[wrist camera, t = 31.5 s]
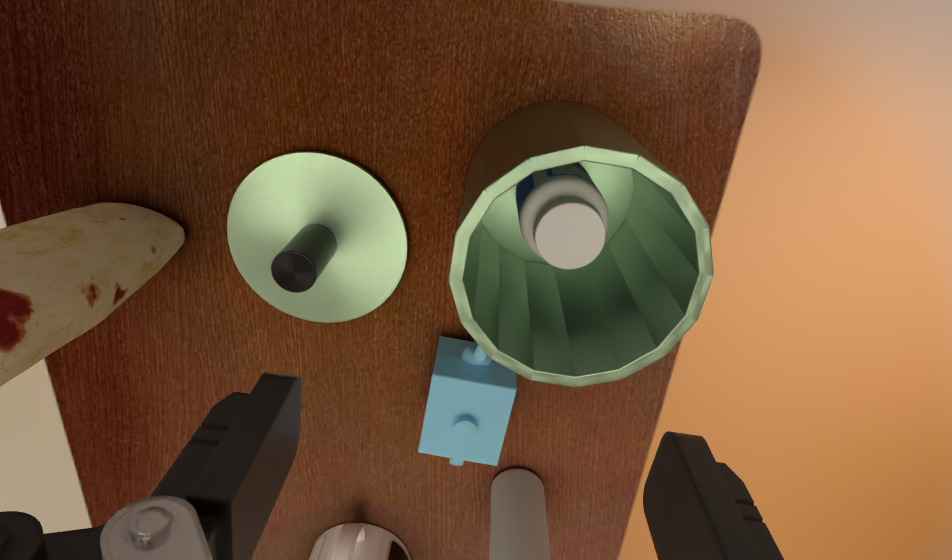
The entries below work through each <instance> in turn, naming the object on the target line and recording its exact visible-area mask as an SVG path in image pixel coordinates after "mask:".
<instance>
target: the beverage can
mask: <svg viewBox="0 0 952 560" xmlns="http://www.w3.org/2000/svg"><path fill="white" fill-rule="evenodd" d="M489 560H550V549H549V538H548V527H547V516H546V505H545V495H544V487H543V484H542V481H541V480H540V479H539V477H537V476H536V475H535V474H534V473H532V472H530V471H528V470H525V469H520V468H513V469H509V470H506V471H504V472H502V473H500V474H499V475H498V476H497V477H496V478H495V479H494V481H493V482H492V486H491V518H490V551H489Z"/></svg>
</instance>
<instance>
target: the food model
mask: <svg viewBox="0 0 952 560" xmlns="http://www.w3.org/2000/svg"><path fill="white" fill-rule="evenodd" d="M184 240H185V234H184V230H183V228H182V227H181V226H180V225H179V224H178V223H176V222H175V221H173V220H172V219H170V218H168V217H166V216H164V215H162V214H160V213H158V212H155V211H152V210H149V209H147V208H143V207H140V206H136V205H133V204H127V203H117V202H95V203H92V204H89V205H87V206H85V207H81V208H73V209H70V210H66V211H63V212H59V213H56V214H52V215H48V216H45V217H41V218H38V219H34V220H30V221H26V222H23V223H19V224H16V225H12V226H9V227H5V228H3V229H0V386H2V385H3V384H5V383H6V382H8V381H9V380H11V379H13V378H14V377H16V376H17V375H19V374H21V373H22V372H24V371H25V370H27V369H28V368H30V367H31V366H33V365H34V364H36V363H37V362H39V361H40V360H42V359H43V358H45V357H46V356H48V355H49V354H51V353H52V352H54V351H55V350H57V349H58V348H60V347H62V346H63V345H65V344H66V343H68V342H70V341H71V340H73V339H75V338H76V337H78V336H80V335H81V334H83V333H85V332H86V331H88V330H89V329H91V328H92V327H94V326H95V325H97V324H98V323H100V322H101V321H102V320H103V319H105V318H106V317H107V316H108V315H109V314H110V313H111V312H113V311H114V310H115V309H116V308H117V307H118V306H119V305H120V304H122V303H123V302H124V301H125V300H126V299H127V298H128V297H129V296H131V295H132V294H133V293H134V292H135V291H137V290H138V289H139V288H140V287H141V286H142V285H143V284H145V283H146V282H147V281H148V280H149V279H150V278H151V277H153V276H154V275H155V274H156V273H157V272H158V271H159V270H160V269H161V268H162V267H163V266H164V265H165V264H166V263H167V262H168V261H169V260H170V258H171V257H172V256H173V255H174V254H175V253H176V252H177V251H178V250H179V248H180V247H181V246H182V245H183V243H184Z"/></svg>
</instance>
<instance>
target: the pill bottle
mask: <svg viewBox="0 0 952 560" xmlns="http://www.w3.org/2000/svg"><path fill="white" fill-rule="evenodd" d="M516 203H517V211H518V218H519V225H520V230H521V234H522V236H523V239H524V241H525V243H526V244H527V246H528V247H529V248H530V249H531V250H532V251H533V252H534V253H535V254H536V255H538V256H539V257H541V258H543V259H544V260H545V261H546V262H548V263H549V264H551V265H553V266H555V267H557V268H561V269H576V268H580V267H583V266H585V265H587V264H589V263H590V262H591V261H593V260H594V259H595V258H596V257H597V256H598V255H599V253H600V252H601V250H602V248H603V246H604V243H605V239H606V232H607V228H608V223H609V213H608V208H607V205H606V202H605V200H604V198H603V196H602V194H601V193H600V191H599V190H598V188H597V187H596V185H595V183H594V182H593V180H592V179H591V177H590V176H589V174H588V172H587V171H586V170H585V168H584V167H583V166H582V165H581V164H580V163H579V162H577V163H572V164H568V165H563V166H559V167H554V168H550V169H545V170H541V171H536V172H534V173H532V174H531V175H529V176H528V177H526V178H525V179H523V180H522V181H521V182H519V183H518V184H517V187H516Z"/></svg>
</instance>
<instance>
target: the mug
mask: <svg viewBox="0 0 952 560" xmlns="http://www.w3.org/2000/svg"><path fill="white" fill-rule="evenodd" d="M308 560H410V556H409V553H408V550H407V549H406V547H405V545H404V544H403V543H402V541H401V540H400V539H398V538H397V537H396V536H395V535H394V534H392V533H391V532H389V531H387V530H385V529H383V528H381V527H378V526H375V525H371V524H366V523H349V522H348V523H346V524H341V525H337V526H335V527H332V528H330V529H328V530H327V531H325V532H324V533H323V534H322V535H320V536H319V538H318V539H317V540H316V542H315V544H314V546H313V548H312V551H311V554H310V557H309V559H308Z"/></svg>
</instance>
